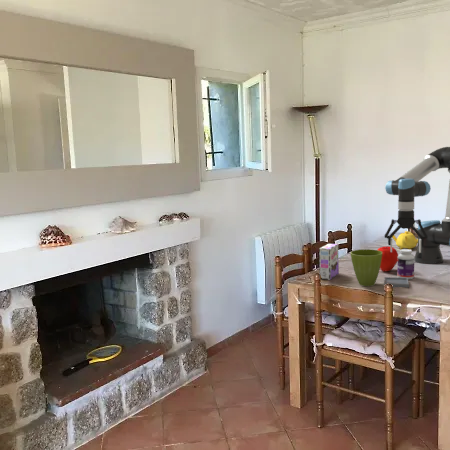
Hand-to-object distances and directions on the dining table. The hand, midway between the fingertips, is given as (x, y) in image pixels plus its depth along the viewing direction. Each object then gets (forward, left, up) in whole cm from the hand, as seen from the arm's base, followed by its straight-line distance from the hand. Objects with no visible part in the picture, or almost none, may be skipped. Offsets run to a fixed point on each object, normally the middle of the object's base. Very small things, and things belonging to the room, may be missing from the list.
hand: (405, 252), depth 254 cm
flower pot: (+19, +13, -14) cm, 27 cm away
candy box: (+38, +1, -14) cm, 40 cm away
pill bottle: (0, 0, -14) cm, 14 cm away
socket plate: (+5, +12, -14) cm, 19 cm away
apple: (+9, -14, -14) cm, 22 cm away
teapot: (-4, -74, -14) cm, 75 cm away
